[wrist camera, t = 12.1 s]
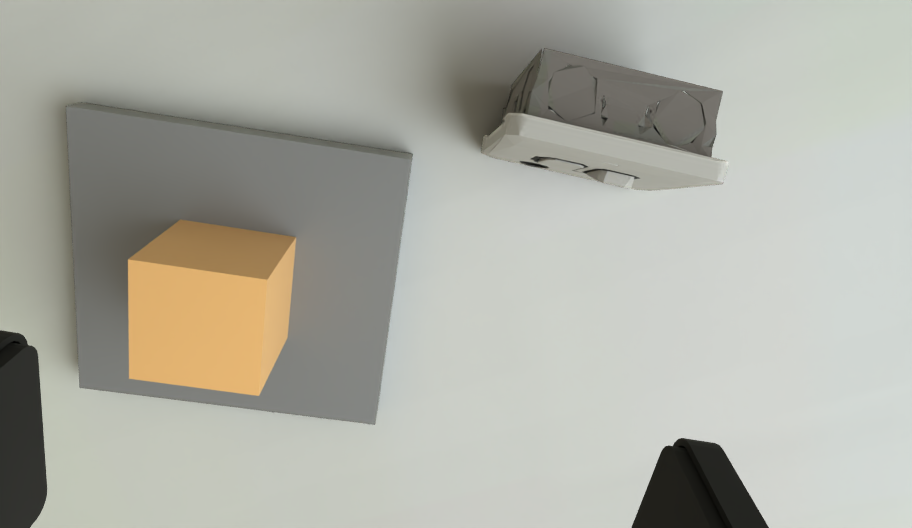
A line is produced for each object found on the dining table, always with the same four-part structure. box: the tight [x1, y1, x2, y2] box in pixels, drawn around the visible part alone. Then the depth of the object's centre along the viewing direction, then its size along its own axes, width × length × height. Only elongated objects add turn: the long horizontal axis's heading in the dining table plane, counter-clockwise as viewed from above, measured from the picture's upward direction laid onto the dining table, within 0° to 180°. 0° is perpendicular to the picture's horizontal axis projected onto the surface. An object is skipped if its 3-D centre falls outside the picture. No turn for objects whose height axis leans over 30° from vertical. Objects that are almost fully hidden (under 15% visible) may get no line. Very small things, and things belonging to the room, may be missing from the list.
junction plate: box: [66, 102, 413, 425], centre depth 33 cm, size 16×17×6 cm
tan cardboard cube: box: [128, 219, 296, 396], centre depth 32 cm, size 6×6×6 cm
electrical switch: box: [481, 48, 729, 191], centre depth 30 cm, size 9×5×9 cm, turn 77°
